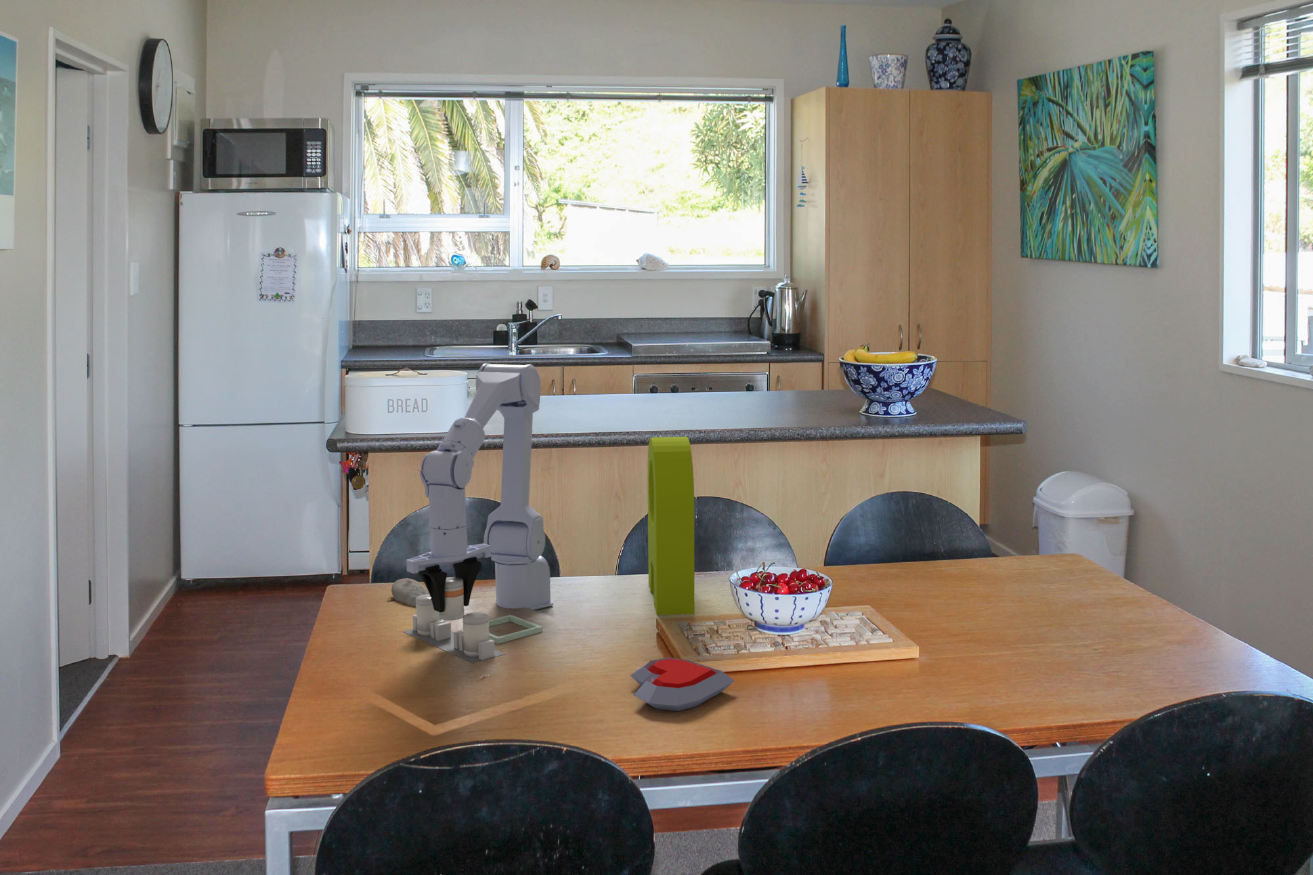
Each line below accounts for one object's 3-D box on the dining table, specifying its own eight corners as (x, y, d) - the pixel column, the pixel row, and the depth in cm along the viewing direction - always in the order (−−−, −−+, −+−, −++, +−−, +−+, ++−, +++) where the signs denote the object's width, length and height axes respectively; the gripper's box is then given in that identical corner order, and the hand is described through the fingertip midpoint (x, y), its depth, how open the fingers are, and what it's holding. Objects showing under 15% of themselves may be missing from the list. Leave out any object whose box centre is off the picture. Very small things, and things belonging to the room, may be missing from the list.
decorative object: (648, 583, 226) (647, 430, 221) (683, 582, 226) (682, 429, 222) (656, 615, 206) (655, 447, 202) (694, 614, 207) (693, 446, 202)
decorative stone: (411, 617, 207) (410, 598, 206) (382, 595, 220) (381, 578, 219) (444, 611, 210) (443, 593, 210) (413, 590, 223) (412, 573, 223)
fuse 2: (480, 647, 187) (479, 610, 186) (494, 653, 184) (493, 616, 183) (459, 652, 185) (457, 616, 184) (473, 659, 182) (472, 621, 181)
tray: (511, 624, 202) (510, 614, 201) (542, 636, 195) (542, 626, 195) (466, 636, 196) (466, 625, 195) (497, 649, 189) (497, 638, 189)
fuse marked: (455, 611, 192) (454, 575, 191) (469, 616, 189) (468, 580, 188) (433, 616, 189) (432, 580, 188) (447, 622, 186) (446, 585, 185)
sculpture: (726, 672, 178) (628, 676, 177) (726, 649, 178) (628, 652, 177) (744, 715, 162) (635, 720, 160) (744, 689, 161) (635, 694, 160)
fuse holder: (434, 629, 199) (433, 609, 199) (505, 660, 184) (504, 638, 183) (403, 637, 195) (402, 617, 195) (473, 669, 180) (472, 647, 179)
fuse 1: (433, 627, 197) (432, 592, 196) (446, 632, 194) (445, 597, 194) (412, 632, 195) (411, 597, 194) (425, 637, 192) (424, 602, 191)
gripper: (472, 514, 194) (475, 593, 196) (395, 528, 185) (398, 611, 187) (497, 521, 189) (499, 602, 191) (418, 536, 179) (422, 621, 182)
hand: (451, 607), depth 189 cm, fingers closed on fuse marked, 4 cm apart
